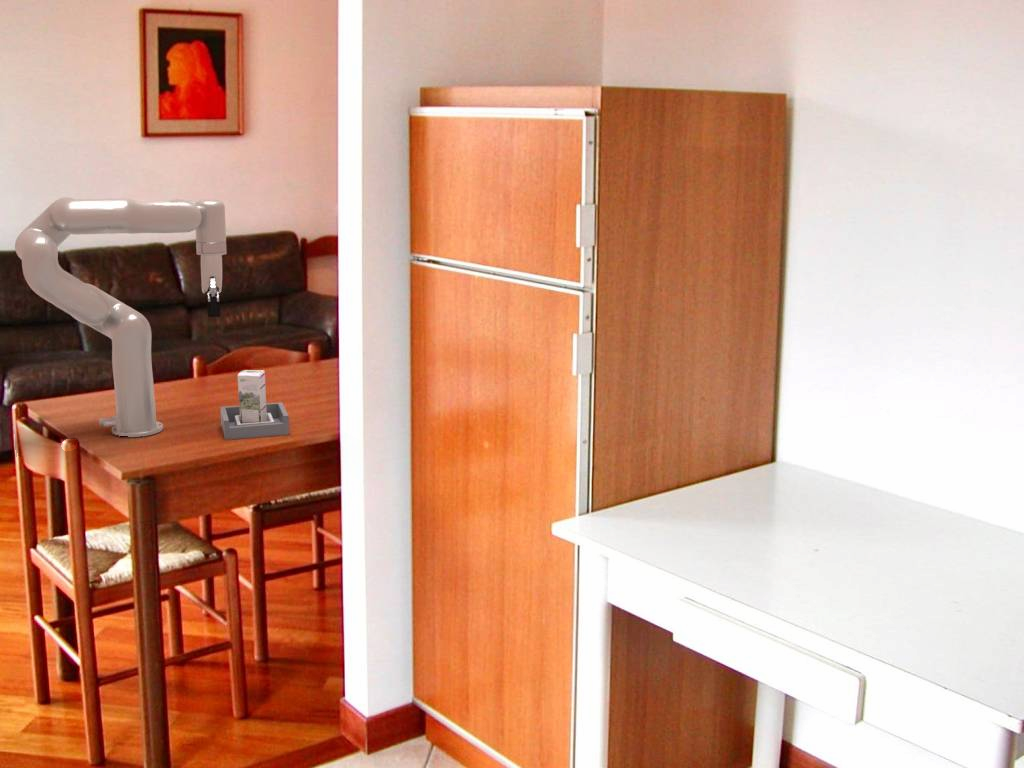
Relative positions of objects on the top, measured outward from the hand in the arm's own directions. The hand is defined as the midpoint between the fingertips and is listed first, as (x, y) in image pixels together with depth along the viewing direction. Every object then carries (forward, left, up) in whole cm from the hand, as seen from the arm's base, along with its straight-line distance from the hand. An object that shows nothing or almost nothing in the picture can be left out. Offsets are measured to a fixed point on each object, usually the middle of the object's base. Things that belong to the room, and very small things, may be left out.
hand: (214, 313), depth 308 cm
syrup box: (+8, -13, -28) cm, 32 cm away
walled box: (+8, -13, -29) cm, 32 cm away
